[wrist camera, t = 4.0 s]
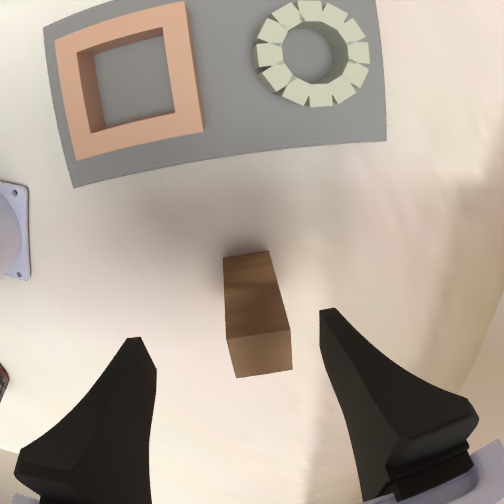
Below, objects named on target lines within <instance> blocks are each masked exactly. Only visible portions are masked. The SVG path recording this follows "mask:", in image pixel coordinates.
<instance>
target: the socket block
mask: <svg viewBox="0 0 504 504" xmlns="http://www.w3.org/2000/svg"><path fill="white" fill-rule="evenodd" d="M43 33H44V43H45V52H46V60H47V68H48V75H49V81H50V88H51V94H52V99H53V105H54V110H55V115H56V120H57V125H58V129H59V134H60V138H61V143H62V147H63V151H64V155H65V159H66V163H67V167H68V170H69V174H70V178H71V181H72V185H73V188H77V187H80V186H84V185H88V184H92V183H96V182H100V181H104V180H108V179H113V178H117V177H121V176H126V175H130V174H135V173H139V172H144V171H149V170H154V169H159V168H164V167H169V166H174V165H179V164H185V163H190V162H196V161H202V160H208V159H214V158H221V157H227V156H234V155H241V154H248V153H255V152H263V151H271V150H280V149H289V148H298V147H308V146H319V145H331V144H345V143H360V142H380V141H387V131H386V101H385V83H384V69H383V58H382V48H381V39H380V30H379V22H378V15H377V8H376V2H375V0H112V1H109V2H106V3H103V4H100V5H97V6H95V7H92V8H89V9H86V10H84V11H81V12H78V13H76V14H73V15H71V16H68V17H66V18H64V19H61V20H59V21H57V22H54V23H52V24H50V25H48V26H46V27H43Z"/></svg>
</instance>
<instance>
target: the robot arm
mask: <svg viewBox="0 0 504 504" xmlns="http://www.w3.org/2000/svg"><path fill="white" fill-rule="evenodd" d="M15 190H16V191H17V193H18V195H17V194H16V193H15ZM19 272H20V273H21V274H20V273H19ZM4 275H7V276H11V277H14V278H17V279H20V280H23V281H28V280H29V278H30V276H31V275H30V263H29V247H28V191H27V189H26V188H25V187H24V186H20V185H15V184H11V183H6V182H1V181H0V279H1V278H2V277H3V276H4ZM319 316H320V350H321V354H322V358H323V361H324V365H325V368H326V371H327V374H328V376H329V379H330V381H331V384H332V386H333V389H334V391H335V394H336V396H337V399H338V401H339V404H340V406H341V409H342V412H343V414H344V417H345V421H346V424H347V428H348V432H349V436H350V440H351V444H352V448H353V452H354V457H355V461H356V466H357V471H358V476H359V481H360V487H361V492H362V499H363V502H362V503H359V504H498V503H500V502H502V501H503V500H504V447H503V445H502V443H501V441H500V440H499V439H496V440H495V441H493V442H491V443H490V444H488V445H486V446H484V447H482V448H481V449H479V450H477V451H476V452H474V453H473V454H471V455H470V456H469V453H468V451H467V450H468V449H469V444H468V442H467V440H466V439H467V438H468V437H469V435H470V434H471V433H472V432H473V430H474V429H475V428H476V426H477V424H478V421H479V417H478V415H477V413H476V411H475V410H474V408H473V406H472V405H471V403H470V402H469V401H468V399H467V398H464V397H462V396H459V395H456V394H453V393H451V392H448V391H445V390H443V389H441V388H438V387H436V386H434V385H432V384H430V383H428V382H426V381H424V380H422V379H420V378H418V377H417V376H415V375H413V374H411V373H410V372H408V371H406V370H405V369H403V368H402V367H400V366H399V365H397V364H396V363H394V362H393V361H392V360H390V359H389V358H388V357H386V356H385V355H384V354H383V353H381V352H380V351H379V350H378V349H377V348H375V347H374V346H373V345H372V344H371V343H370V342H369V341H368V340H366V339H365V338H364V337H363V336H362V335H361V334H360V333H359V332H358V331H357V330H356V329H355V328H354V327H353V326H352V325H351V324H350V323H349V322H348V321H347V320H346V319H345V318H344V317H343V316H342V314H341V313H340V312H339V311H338V310H337V309H336V308H329V309H324V310H319ZM156 380H157V369H156V367H155V365H154V363H153V361H152V359H151V357H150V355H149V353H148V351H147V349H146V347H145V345H144V343H143V341H142V339H141V337H134V338H127V339H126V341H125V342H124V343H123V345H122V346H121V348H120V349H119V351H118V352H117V353H116V355H115V356H114V358H113V359H112V361H111V362H110V364H109V365H108V366H107V368H106V369H105V371H104V372H103V373H102V375H101V376H100V377H99V379H98V380H97V381H96V383H95V384H94V385H93V386H92V388H91V389H90V390H89V392H88V393H87V394H86V395H85V396H84V398H83V399H82V400H81V401H80V402H79V403H78V404H77V405H76V406H75V407H74V408H73V409H72V410H71V411H70V412H69V413H68V414H67V415H66V416H65V417H64V418H63V419H62V420H61V421H60V422H59V423H57V424H56V425H55V426H54V427H53V428H51V429H50V430H49V431H48V432H46V433H45V434H44V435H42V436H41V437H39V438H38V439H37V440H35V441H33V442H32V443H30V444H29V445H27V446H25V447H24V448H22V449H21V450H20V453H19V456H18V460H17V463H16V467H15V470H14V475H15V477H16V478H17V479H18V480H19V481H20V482H21V483H22V484H24V485H25V486H27V487H28V488H30V489H31V490H33V491H34V492H36V493H37V494H39V495H40V496H41V497H40V501H38V500H36V499H33V498H31V497H27V496H24V495H21V494H18V493H15V494H14V496H13V501H12V504H152V500H151V490H150V476H149V439H150V430H151V423H152V416H153V409H154V403H155V396H156Z"/></svg>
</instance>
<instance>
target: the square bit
mask: <svg viewBox="0 0 504 504" xmlns="http://www.w3.org/2000/svg"><path fill="white" fill-rule="evenodd" d="M223 272H224V299H225V322H226V340H227V344H228V348H229V352H230V356H231V360H232V364H233V368H234V372H235V376H236V378H241V377H248V376H255V375H262V374H269V373H275V372H281V371H287V370H293V367H292V349H291V332H290V326H289V323H288V319H287V315H286V312H285V308H284V304H283V301H282V297H281V294H280V290H279V286H278V283H277V279H276V276H275V272H274V268H273V265H272V261H271V258H270V254H269V251H266V252H260V253H253V254H246V255H240V256H233V257H227V258H223Z"/></svg>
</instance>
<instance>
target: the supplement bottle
mask: <svg viewBox="0 0 504 504" xmlns="http://www.w3.org/2000/svg"><path fill="white" fill-rule="evenodd" d="M8 381H9V380H8V376H7V374H6V372H5V371H4V369H3V368H2V367H1V366H0V402H1V400H2V397H3V395H4V392H5V390H6V388H7V385H8Z"/></svg>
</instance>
